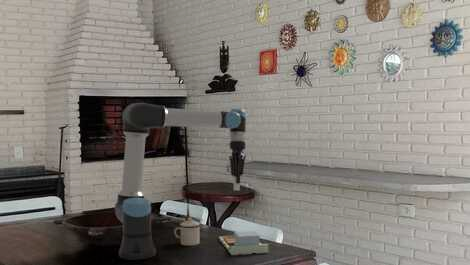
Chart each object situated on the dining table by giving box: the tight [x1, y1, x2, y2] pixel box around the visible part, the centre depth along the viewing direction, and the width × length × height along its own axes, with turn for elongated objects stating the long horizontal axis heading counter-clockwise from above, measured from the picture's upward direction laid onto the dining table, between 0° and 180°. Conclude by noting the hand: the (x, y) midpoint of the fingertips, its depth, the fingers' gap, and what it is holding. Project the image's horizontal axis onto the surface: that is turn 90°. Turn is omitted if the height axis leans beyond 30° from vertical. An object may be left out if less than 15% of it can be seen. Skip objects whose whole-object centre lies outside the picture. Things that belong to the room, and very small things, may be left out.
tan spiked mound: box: [184, 203, 204, 228], centre depth 269 cm, size 15×10×13 cm
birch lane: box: [218, 235, 262, 255], centre depth 228 cm, size 28×16×1 cm, turn 13°
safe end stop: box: [230, 243, 269, 256], centre depth 214 cm, size 1×16×4 cm, turn 103°
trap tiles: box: [224, 238, 234, 244], centre depth 237 cm, size 8×11×1 cm
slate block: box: [233, 230, 261, 246], centre depth 219 cm, size 9×9×8 cm
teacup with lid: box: [173, 217, 201, 247], centre depth 232 cm, size 12×9×12 cm
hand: (236, 190), depth 241 cm, fingers closed
